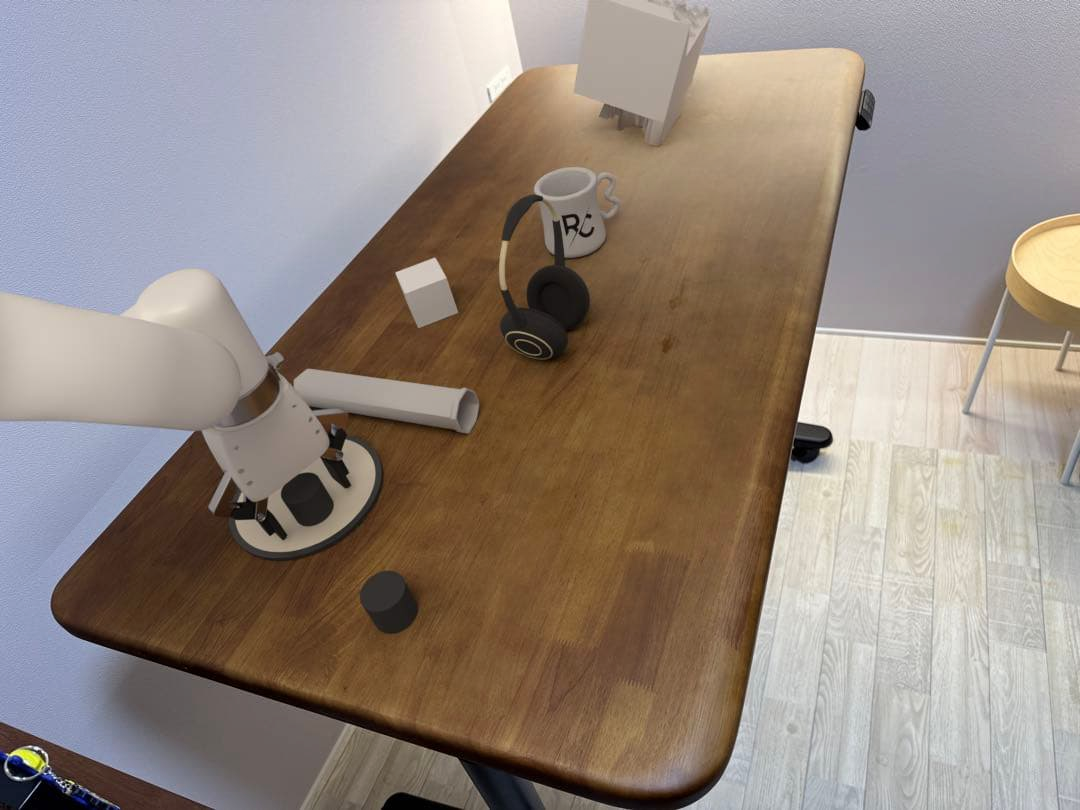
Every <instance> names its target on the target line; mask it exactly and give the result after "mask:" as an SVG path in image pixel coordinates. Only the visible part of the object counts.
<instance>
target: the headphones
mask: <svg viewBox="0 0 1080 810" xmlns="http://www.w3.org/2000/svg"><path fill="white" fill-rule="evenodd" d="M538 201H542V202H543V203H545V204H546V206H547V207H548V208H549V210H550V212H551V214H552V217H553V220H552V223H553V230H554V254H553V257H554V260H553V261H554V263H553V264H551V265H546V266H543V267H541V268H540V269H538V270H537V271H535V273H533V274H532V276H531V277H530V278H529V281H528V283H527V286H526V292H525V293H526V295H525V296H526V302H527V306H528V307H518V306H517V305H516V303H515V301H514V300H513V298H512V295H511V292H510V290H509V288H508V286H507V282H506V259H507V252H508V251H507V250H508V247H509V246H508V245H509V243H510V241H511V240H512V236H513V234H514V232H515V230H516V228H517V226H518V224H519V223H520V221H521V220H522V218H523V217H524V216H525V214H527V212H529V210H530V209H531V207H532V206H533V204H535V203H538ZM498 263H499V264H498V277H499V285H500V289H499V290H500V293H501V296H502V299H503V303H504V304H505V307H506V309H507V312H505V313H504V314H503V316H502V317H501V320H500V324H499V329H500V333H501V334H502V337H503V338H504V340H505V342H506V344H507V345H508V346H509V347H510V348H511V349H513V350H514V351H515V352H516V353H519V354H520V355H523V356H525V357H527V358H532V359H535V360H548V359H553V358H555V357H558V356H560V355H562V354H563V353H564V352H565V350H566V348H567V346H568V344H569V335H568V331H570V330H572V329H575V328H576V327H578V326H579V325H580V324H582V322H583V321H584V320H585V318H586V317H587V315H588V313H589V310H590V307H591V306H590V305H591V297H590V292H589V289H588V286H587V284H586V282H585V280H584V279H583V278H582V277H581V276H580V275H579V273H577V272H576V271H575V270H573V269H572V268H570V267H568V266H566V258H565V256H564V245H563V237H562V231H561V225H560V220H559V219H558V216H557V213H556V211H555V209H554V207H553V206H552V204H551V203H550V202H549V201H548V200H546V199H544V198H543V197H542V196H540V195H536V194H535V193H534V194H528V195H525V196H523V197H521V198H519V199H518V200H516V202H514V203H513V205H511V207H510V209H509V211H508V212H507V215H506V217H505V221H504V223H503V228H502V233H501V247H500V254H499V262H498Z"/></svg>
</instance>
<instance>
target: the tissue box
mask: <svg viewBox="0 0 1080 810" xmlns="http://www.w3.org/2000/svg"><path fill="white" fill-rule="evenodd" d="M709 13H710V12H709V11H708V7H707V6H705V7H704V8H703V9H699V7H698V6H697V4H695V5H694V6H693V7H692V8H691V7H687V3H685V0H672V2H670V1H669V0H587V7H586V12H585V19H584V25H583V31H582V37H581V44H580V50H579V56H578V62H577V70H576V75H575V81H574V87H573V94H575V95H579V96H582V97H585V98H588V99H591V100H594V101H597V102H599V103H602V104H603V105H602V108H601V110H600V112H599V115H598V118H601V119H604V120H607V121H608V120H610V119H611V121H614V119H615V117H616V116H618V117H617V122H616V127H615V131H617V132H624V131H625V130H626V128H628V127H630V126H632V125H633V124H634V125H635V126H636V127H642V130H641V131H642V133H643V135H644V136H645V137H644V141H643V143H645V144H649V145H651V146H655V147H659V146H662V145H663V144H664V142H665V140H666V139H667V136H668V134H669V133H670V132H671V130H672V128H673V126H674V124H675V123H676V121H677V119H678V118H679V116H680V115H681V114H682V113H683V108H684V105H685V99H686V96H687V94H688V91H689V89H690V87H691V85H692V83H693V80H694V78H695V77H694V76H695V73H696V71H697V70H696V69H697V66H698V62H699V59H700V55H701V52H702V48H703V45H704V41H705V38H706V34H707V31H708V27H709V25H710V24H709V23H710V20H711V17H712V15H711V14H709Z"/></svg>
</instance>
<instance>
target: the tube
mask: <svg viewBox="0 0 1080 810" xmlns="http://www.w3.org/2000/svg"><path fill="white" fill-rule="evenodd" d="M293 387H294V388H295V390H296V391H297V392H298V393H299V394H300V396H301V397H302V398H303V400H304V401H305V402H306V404H307V405H308V406H309V407H311V408H317V409H322V410H323V409H333V408H341V409H343V410H344V411H346V412H347V413H348V414H355V415H360V416H367V417H373V418H379V419H386V420H391V421H392V420H393V421H398V422H403V423H410V424H416V425H422V426H423V425H424V426H430V427H435V428H442V429H448V430H454V431H456V432H457V433H462V434H467V435H469V434H470V433H471V431H472V430H473V428H474V426H475V424H476V423H477V421H478V415H479V410H480V405H481V403H480V400H479V398H478V395H477V394H476V391H475V390H473V389H470V388H469V387H462V388H454V387H446V386H439V385H433V384H432V385H431V384H424V383H418V382H417V383H416V382H410V381H403V380H395V379H388V378H380V377H373V376H365V375H358V374H352V373H344V372H336V371H328V370H322V369H315V368H306V369H305V370H304V371H302V372H301V373H300V374H299V375H298V376H296V377H295V378H294V379H293Z"/></svg>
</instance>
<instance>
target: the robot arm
mask: <svg viewBox="0 0 1080 810" xmlns="http://www.w3.org/2000/svg"><path fill="white" fill-rule="evenodd" d="M286 362H287V361H286V359H285V358H284V356H283V355H282V354H281V353H280V352H279V351H276V352H274V353H273V354H272V355H271V354H269V355H268V356H267V355H266V354H264V352H263V350H262V349H261V346H260V344H259V343H258V341H257V339H256V338H255V336H254V334H253V333H252V331H251V329H250V328H249V325H248V324H247V322H246V321H245V319H244V317H243V316H242V314H241V312H240V310H239V308H238V307H237V305H236V304H235V302H234V300H233V298H232V297H231V295H230V293H229V292H228V289H227V288H226V287H225V285H224V284H223V282H222V280H221V279H220V278H219V277H218V276H217V275H216V274H215V273H213V272H211V271H209V270H207V269H203V268H197V267H196V268H183V269H180V270H175V271H173V272H170V273H168V274H166V275H164V276H162V277H159V278H158V279H156V280H155V281H153V282H152V283H150V284H149V285H148V286H146V288H145V289H144V290H143V291H142V292H141V293H140V295H139V297H138V299H137V300H136V302H135V304H133V305H132V306H130V307H129V308H128V309H126V310H125V311H124V312H122V313H121V314H114V313H108V312H102V311H97V310H92V309H85V308H80V307H76V306H70V305H64V304H59V303H55V302H51V301H46V300H42V299H38V298H34V297H30V296H26V295H20V294H15V293H10V292H5V291H0V422H67V423H86V424H100V425H101V424H104V425H113V426H114V425H116V426H128V427H139V428H140V427H142V428H154V429H155V428H156V429H163V430H165V429H167V430H177V431H187V432H201V433H202V436H203V438H204V440H205V442H206V444H207V446H208V449H209V450H210V452H211V454H212V456H213V458H214V459H215V461H216V462H217V464H218V465H219V467H220V469H221V470H222V472H223V473H224V474H223V476H222V478H221V480H220V482H219V484H218V486H217V488H216V489H215V492H214V493H213V496H212V498H211V500H210V501H209V504H208V506H207V508H208V509H207V510H209V511H210V512H211V514H212V515H213V516H215V517H217V518H226V519H229V518H234V519H235V520H256V521H257V522H258V523H259V524H260V526H261V527H262V528H263V530H264V531H265V532H266V533H267V534H268V535H269V536H271V535H273V534H274V533H275V534H277V535H278V536H279V537H280V538H281V539H282V540H285V539H286V538H287V537H286V536H288V535H287V533H286V532H285V530H284V529H283V528H282V526H281V525H280V523H279V522H278V520H277V519H276V518H275V516H274V515H273V514H272V513H271V512H270V511H269V510H268V509H267V506H268V496H270V495H271V494H273V493H274V492H276V491H277V490H278V489H280V488H281V487H282V486H284V485H285V484H286V483H288V482H289V481H290V480H291V479H293V478H294V477H295V476H297V475H298V474H299V473H300V472H302V471H303V470H304V469H306V468H307V467H308V466H309V465H311V464H312V463H313V462H314V461H316V460H317V459H318V458H319V457H320V458H321V460H322V462H323V463H324V465H325V467H326V468H327V470H328V472H329V474H330V475H331V477H332V478H333V479H334V480H335V481H336V482H338V483H339V484H340V485H341V486H343V487H344V488H345V489H346V488H349V487H350V486H351V483H350V482H349V480H348V478H347V476H346V475H348V474H349V471H348V469H347V467H346V465H345V464H344V462H343V460H342V458H343V455H344V454H343V452H342V448H343V445H344V442H345V439H346V436H347V435H348V434H347V432H346V430H347V428H348V421H349V416H350V415H349V414H350V413H348V412H346V411H344V410H343V409H341V408H333V409H323V408H322V409H314V410H312V409H311V408H310V406H308V405H307V404H306V402H305V401H304V400H303V398H302V397H301V396H300V394H299V393H298V392H297V391H296V390H295V388H294V385H292V383H290V382H289V381H288V380H287V379H286V378H285V376H283V375H282V374H281V373H280V372H279V370H280V369H281V367H282V366H283V365H285V364H286ZM325 425H330V427H329V429H328V432H327V431H326V430H325V428H324V426H325ZM327 434H328V435H327ZM238 489H240V490H241V491H242V493H243V494H244V499H243V502H232V500H233V498H234V496H235V494H236V492H237V490H238Z"/></svg>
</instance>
